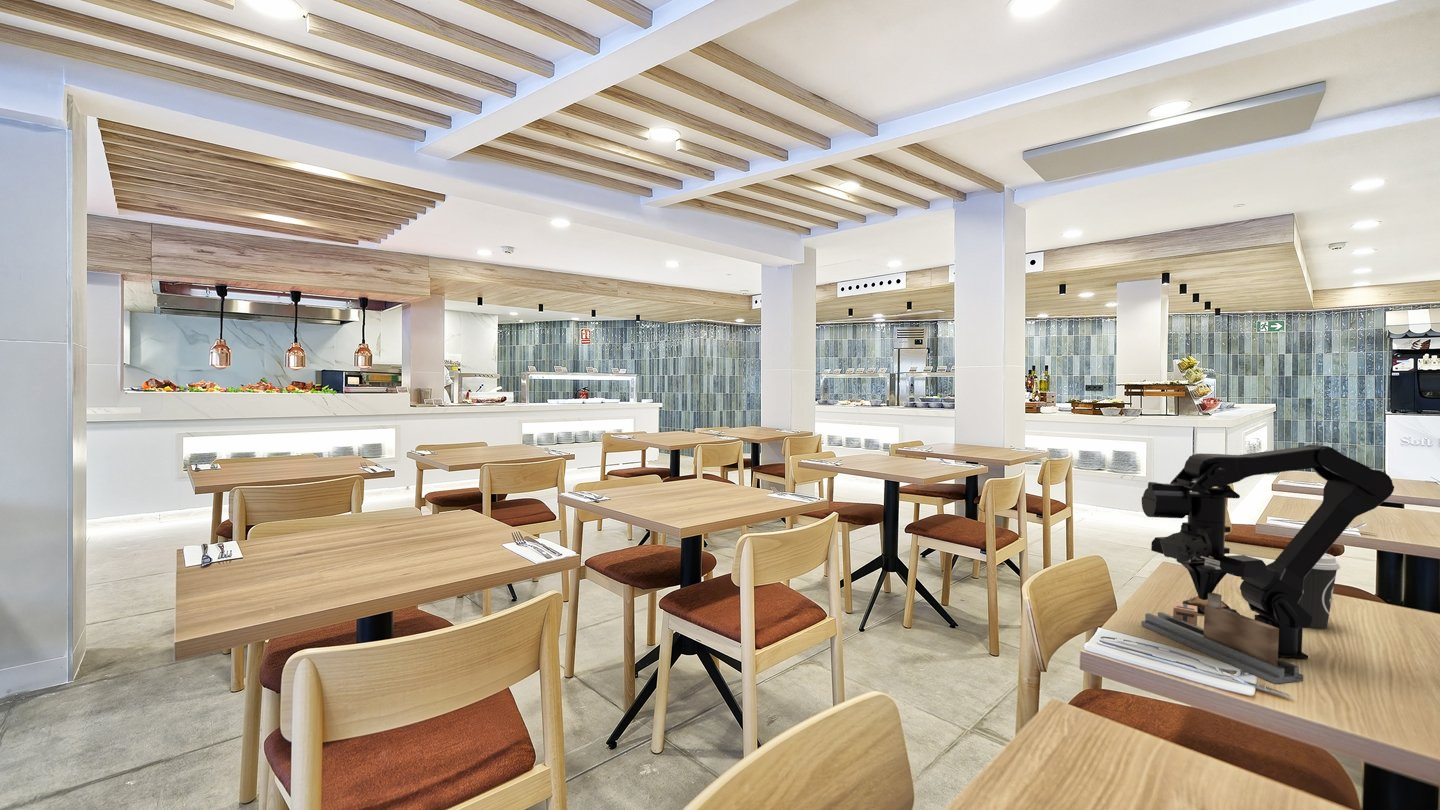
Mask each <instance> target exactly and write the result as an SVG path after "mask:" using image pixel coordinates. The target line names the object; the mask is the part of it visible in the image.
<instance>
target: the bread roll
mask: <svg viewBox="0 0 1440 810" xmlns="http://www.w3.org/2000/svg"><path fill="white" fill-rule="evenodd" d="M1181 604H1187V605H1192V606H1197V617H1198V616H1199V617H1204V611H1205V605H1208V599H1207V600H1202V599H1199V596H1198V595H1196V596H1194V597H1191V598H1189V599H1187V600H1183V601H1182V602H1181ZM1221 608H1223V609H1226V610H1228V611H1231V612H1234V613H1237V614H1240V612H1238V611H1237V609H1233V608H1231V607H1230V606H1229V605H1228V604H1227V603H1225V602H1224V601H1223V600H1221Z"/></svg>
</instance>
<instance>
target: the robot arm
mask: <svg viewBox="0 0 1440 810" xmlns="http://www.w3.org/2000/svg"><path fill="white" fill-rule="evenodd" d="M1307 469H1312V470H1313V472H1315V473H1316V475H1318V476H1319V477H1321V478H1322V479H1324V480H1325V481H1326V483H1325V484H1324V487H1323V494H1322V495H1323V496H1322V502H1321V504H1320V505H1319V507H1317V509H1315V511H1314V513H1313V514H1312V515H1311V516H1310V517H1309V519H1308V520H1307V521H1306V522H1305V523H1304V525H1303V526H1302V527H1301V528H1300V530H1298V532H1297V533H1296V534H1295V535H1294V537H1293V538H1292V539H1291V540H1290V542H1289V543H1288V544H1287V545H1286V546H1285V547H1284V549H1283V550H1282V551H1281V553H1280V554H1278V556H1277V558H1276V559H1274V560H1273V562H1270V563H1268V564H1266V563H1265V562H1264V560H1262V559H1259V558H1256V557H1252V556H1249V555H1244V554H1242V555H1241V554H1239V555H1228V554H1230V551H1231V549H1230V548H1229V547H1225V541H1226V537H1225V535H1226V534H1225V533H1231V526H1227V525H1226V508H1227V507H1226V506H1227V499H1240V498H1241V495H1240V494H1239V493H1238V492H1236V491H1234V489H1232V487H1231V486H1230V485H1232V484H1234V483H1239V482H1241V481H1242V480H1244V479H1246V478H1249V477H1253V476H1260V475H1267V474H1276V473H1284V472H1285V473H1286V472H1291V471H1298V470H1299V471H1300V470H1307ZM1394 490H1395V485H1393V480H1392V478H1391V476H1390V475H1388V474H1387V473H1386V472H1384V471H1382V470H1379V469H1372V468H1371V467H1369V466H1368V465H1366V464H1363V463H1361V462H1359V461H1357V460H1355V459H1353V458H1351V457H1348V456H1347V455H1344V454H1343V453H1341V452H1339V451H1338V450H1336V449H1335V448H1333V447H1332V446H1328V445H1320V444H1306V445H1304V446H1298V447H1292V448H1289V447H1288V448H1281V449H1275V450H1267V451H1259V452H1251V453H1243V454H1223V453H1195V454H1191V455H1190V456H1189V457H1188V458H1187V460H1186V461H1185V463H1184V467H1183V468H1182V469H1181V470H1180V471H1179V472H1178V474H1177V475H1176V476H1175V477H1174V478H1173V479H1172V480H1171V481H1170V483H1160V482H1157V481H1155V482H1154V481H1149V482H1148V483H1147V488H1146V489H1145V490H1144V491H1143V495H1142V496H1141V506H1142V511H1143V513H1144V515H1145V516H1146V517H1148V518H1162V519H1183V518H1185V517H1186V516H1187V522H1185V521H1184V522H1182V523H1181V525H1180V531H1179V532H1175V533H1174V532H1173V533H1172V534H1170V535H1168V536H1157V537H1154V539H1152V541H1151V547H1150V548H1151V549H1150V551H1151V552H1155V553H1158V554H1161V555H1163V556H1164V557H1166V558H1172V559H1175V560H1176V562H1177V564H1181V565H1182V566H1183V567H1184V568H1185V569H1186V570H1187V572H1188V573H1189V575H1190V577H1191V580H1192V583H1193V586H1194V588H1195V590H1196V594H1197V596H1199V599H1202V600H1207V599H1208V593H1214V590H1215V589H1216V587H1217V586H1218V585H1219V583H1220V582H1221V581H1222V580H1223V579H1224V577H1225V576H1226V575H1227V574H1228V575H1231V576H1234V577H1237V578H1240V579H1241V580H1242V582H1241V583H1240V586H1239V590H1240V593H1241V597H1242V598H1243V599H1244V601H1246V602H1247V604H1248V606H1249V609H1250V611H1252V612H1255V613H1256V614H1254V620H1257V621H1260V622H1262V623H1265V624H1268V625H1271V626H1274V627H1277V628H1279V642H1278V658H1279V657H1280V658H1294V659H1295V658H1296V659H1309V655H1308V654H1306V653H1304V652H1303V651H1302V650H1303V633H1304V632H1303V630H1304V628H1305V629H1309V628H1308V627H1309V626H1310V624H1311V621H1312V619H1313V618H1312V617H1311V616H1310V615H1309V614H1308V613H1307V612H1306V611H1305V610H1304V609H1303V608H1302V607H1301V606H1300V605H1299V604H1298V602H1299V601H1300V599H1301V597H1302V595H1303V583H1304V578H1305V577H1306V575H1307V574H1308V573H1309V572H1310V571H1311V569H1312V568H1313V567H1314V566H1315V565H1316V563H1317V562H1318V561H1319V560H1320V559H1321V558H1322V556H1323V555H1324V554H1325V553H1326V554H1327V551H1329V550H1330V548H1331V547H1332V545H1334V543H1335V542H1336V541H1337V539H1338V538H1339V537H1340V536H1341V535H1342V534H1343V532H1345V530H1346V529H1347V528H1348V527H1349V525H1350V524H1351V523H1352V522H1353V521H1354V519H1356V518H1357V517H1358V516H1361V515H1364V514H1365V513H1368V512H1370V511H1372V510H1374V509H1377V508H1378V507H1379V506H1380V505H1381V504H1383V503H1384V502H1385V501H1386V500H1387V499H1388V498H1389V497H1391V496H1392V494H1393V492H1394Z"/></svg>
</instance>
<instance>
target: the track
mask: <svg viewBox="0 0 1440 810" xmlns="http://www.w3.org/2000/svg"><path fill="white" fill-rule="evenodd" d="M1144 616H1145V617H1144V620H1141V623H1140V624H1141V627H1143V628H1146V629H1148V630H1151V631H1153V632H1154V633H1157V634H1160V635H1162V636H1164V637H1167V638H1169V639H1172V640H1174V641H1176V642H1178V643H1180V644H1183V645H1185V646H1187V647H1188V648H1192V649H1194V650H1195V651H1199V652H1201V653H1203V654H1206V655H1208V656H1210V657H1212V658H1215V659H1217V660H1220V661H1222V662H1224V663H1226V664H1228V665H1231V666H1233V667H1236V668H1238V669H1240V670H1242V671H1243V672H1247V673H1249V674H1251V675H1254V676H1255V677H1258V678H1261V679H1263V680H1265V681H1268V682H1270V683H1273V684H1275V685H1277V684H1279V685H1280V684H1287V683H1296V682H1303V680H1304V675H1303V674H1302V673H1300V666H1298V665H1296V664H1293V663H1290V662H1289V661H1285V660H1283V659H1280V658H1278V666H1277V665H1275V664H1272V663H1270V662H1267V661H1265V660H1263V659H1260V658H1258V657H1255V656H1253V655H1250V654H1248V653H1245V652H1243V651H1241V650H1238V649H1236V648H1233V647H1231V646H1228V645H1226V644H1223V643H1221V642H1219V641H1216V640H1214V639H1211V638H1209V637H1206V636H1204V627H1203V628H1202V627H1201V626H1198V625H1197V626H1195V625H1193V624H1190V623H1188V622H1185V621H1183V620H1180V619H1178V618H1175V617H1173V615H1171V614H1167V613H1165V612H1162V611H1161V612H1158V613H1157V615H1154V614H1152V613H1149V612H1147V613H1145V615H1144Z"/></svg>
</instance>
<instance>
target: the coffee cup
mask: <svg viewBox="0 0 1440 810" xmlns="http://www.w3.org/2000/svg"><path fill="white" fill-rule="evenodd" d="M1338 570H1341V565H1340V564H1339V562H1338V561H1337V560H1336V556H1334V555H1333V554H1329V553H1327V552H1326V553H1325V554H1324V555H1323V556H1322V558H1321V559H1320V560H1319V561H1318V562H1317V563H1316V565H1315V566H1314V567H1313V568H1312V569H1311V571H1310V572H1309V573H1308V574H1307V575H1306V577H1305V578H1304V583H1303V595H1302V597H1301V599H1300V601H1299V602H1298V604H1299V605H1300V606H1301V607H1302V608H1303V609H1304V610H1305V611H1306V612H1307V613H1308V614H1309V615H1310V616H1311V617H1312V618H1313V619H1312V621H1311V624H1310V626H1309V627H1308V628H1307V629H1314V630H1315V629H1317V630H1325V629H1327V628H1328V624H1329V619H1330V618H1329V617H1330V612H1331V606H1332V600H1333V594H1334V587H1335V582H1336V576H1337V572H1338Z"/></svg>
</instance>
